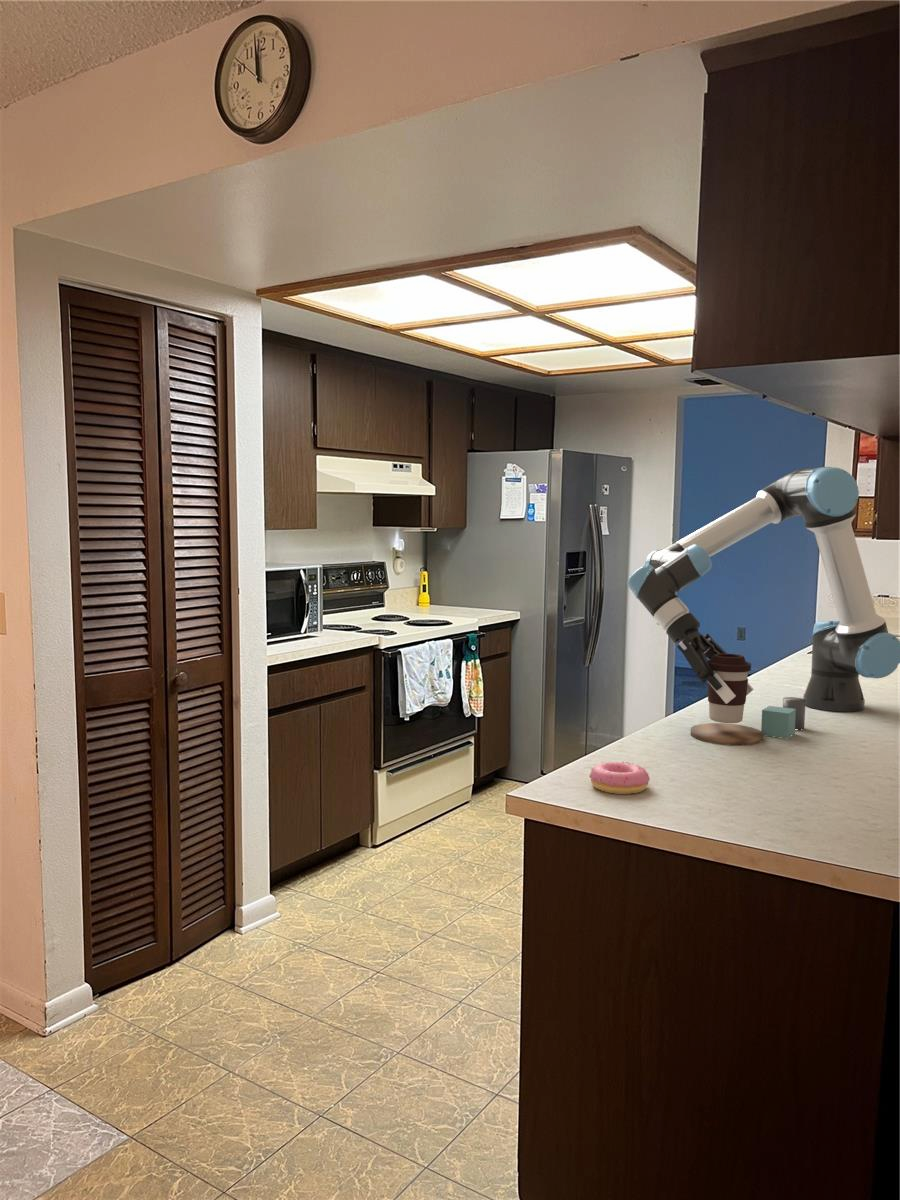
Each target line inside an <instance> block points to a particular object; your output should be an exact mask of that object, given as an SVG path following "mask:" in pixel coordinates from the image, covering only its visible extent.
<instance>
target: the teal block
mask: <svg viewBox="0 0 900 1200" xmlns="http://www.w3.org/2000/svg"><path fill="white" fill-rule="evenodd" d="M795 717H796V709H792V708H784V707H783V706H774V705H768V706H766V707H765V708H763V709H761V723H760V724H761V726H760V727H761V729H760V731H762V732H763V734H764V735H765V736H764V737H769V736H775V737H774V738H776V737H782V738H781V739H783V738H789V737H790V736H791V735H793V734H794V733H795V734H796V730H795ZM795 734H794V735H795ZM766 735H767V736H766ZM794 735H793V736H794ZM791 737H792V736H791ZM791 737H790V738H791ZM790 738H789V739H790Z"/></svg>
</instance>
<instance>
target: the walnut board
mask: <svg viewBox="0 0 900 1200" xmlns="http://www.w3.org/2000/svg"><path fill="white" fill-rule="evenodd" d="M690 736H691V737H693V738H694V739H696V740H699V741H702V742H705V743H706V742H707V743H710V742H711V743H712V744H717V745H726V744H730V745H729V746H748V745H747V744H750V745H755V744H754V743H756V744H759V742H760V743H761V741H762V742H763V741H764V737H765V736H764V734H763V732H762V731H761V729H758V728H754V727H752V726H747V725H741V724H737V723H721V722H716V723H715V722H713V723H711V722H710V723H708V722H707V723H700V724H696V725H692V726H691V727H690ZM743 744H744V745H743Z"/></svg>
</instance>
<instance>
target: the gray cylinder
mask: <svg viewBox="0 0 900 1200" xmlns="http://www.w3.org/2000/svg"><path fill="white" fill-rule="evenodd" d="M805 701H806V700H805V699H803V698H802V697H796V696H795V697H794V696H793V697H792V696H786V697H783V698H782V707H784V708H792V709H796V717H795V729H798V730H799V731H802V730H801V729H804V730H805V724H806V723H805V720H806V719H805V718H806V705H805Z"/></svg>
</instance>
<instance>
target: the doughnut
mask: <svg viewBox="0 0 900 1200" xmlns="http://www.w3.org/2000/svg"><path fill="white" fill-rule="evenodd" d="M588 775H589V776H588V777H589V778H590V782H591V785H592V786H593V787H594V788H596V789H597V790H598V789H599V791H600V790H601V792H603V791H605V792H604V793H607V792H609V793H608V794H612V793H617V794H616V795H632V794H631V793H635V794H638V792H639V793H642V792H643V791H645V790H646V789H647V787H648V786H649V783H650V782H649V781H650V780H651V778H650V775H649V772H647V770H646V769H645V768H644V767H642V766H640V765H637V764H635V763H631V762H625V761H608V762H607V761H605V762H602V763H599V764H596V765H595V766H594V767H593V768H591V771H590V773H589V774H588Z"/></svg>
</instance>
